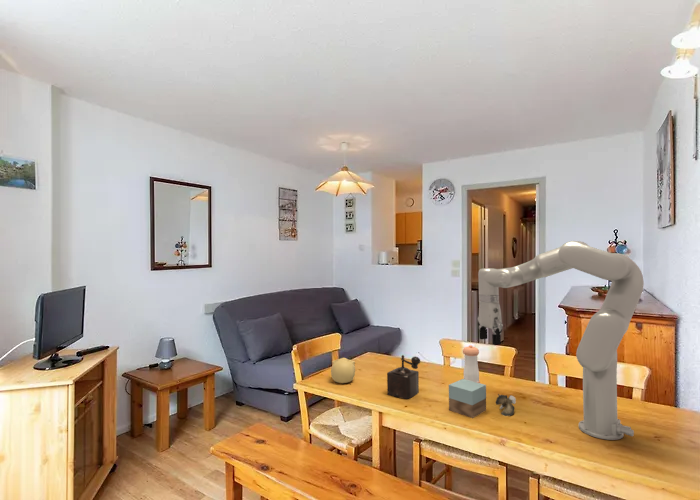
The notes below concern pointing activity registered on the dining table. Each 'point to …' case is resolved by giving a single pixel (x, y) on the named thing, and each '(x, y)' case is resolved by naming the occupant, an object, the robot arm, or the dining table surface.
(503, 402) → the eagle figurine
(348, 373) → the sculpture
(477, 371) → the pepper shaker
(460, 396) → the tower top
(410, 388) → the manual coffee grinder
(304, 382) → the dining table surface
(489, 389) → the dining table surface
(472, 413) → the tower base
